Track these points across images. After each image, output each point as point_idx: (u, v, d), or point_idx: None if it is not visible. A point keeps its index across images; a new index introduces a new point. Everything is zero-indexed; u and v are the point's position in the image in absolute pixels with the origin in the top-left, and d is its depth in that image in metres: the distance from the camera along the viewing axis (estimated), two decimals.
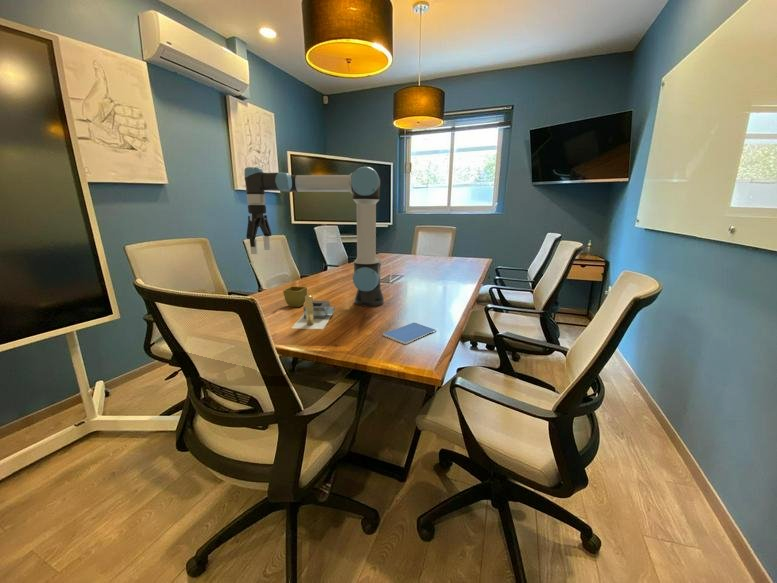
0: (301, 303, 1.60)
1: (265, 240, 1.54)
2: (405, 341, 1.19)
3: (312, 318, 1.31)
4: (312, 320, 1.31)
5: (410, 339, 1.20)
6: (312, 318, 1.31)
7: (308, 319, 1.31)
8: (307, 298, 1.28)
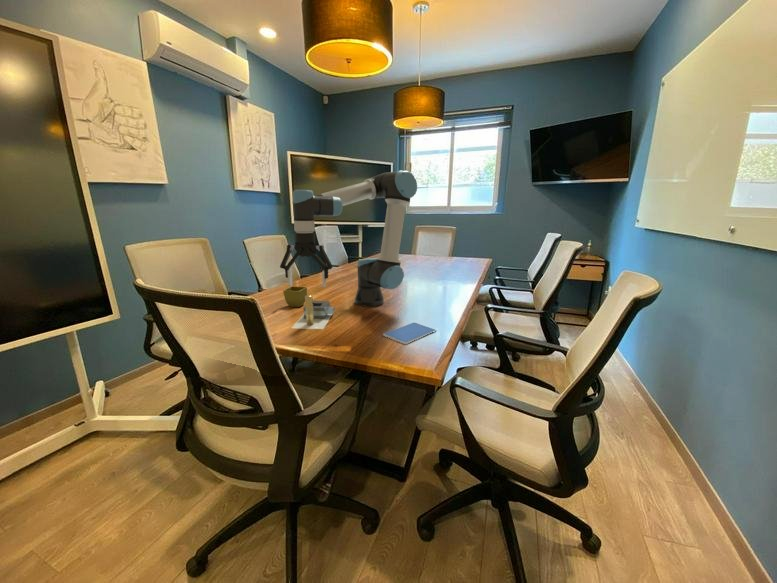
0: (301, 303, 1.60)
1: None
2: (405, 341, 1.19)
3: (312, 318, 1.31)
4: (312, 320, 1.31)
5: (410, 339, 1.20)
6: (312, 318, 1.31)
7: (308, 319, 1.31)
8: (307, 298, 1.28)
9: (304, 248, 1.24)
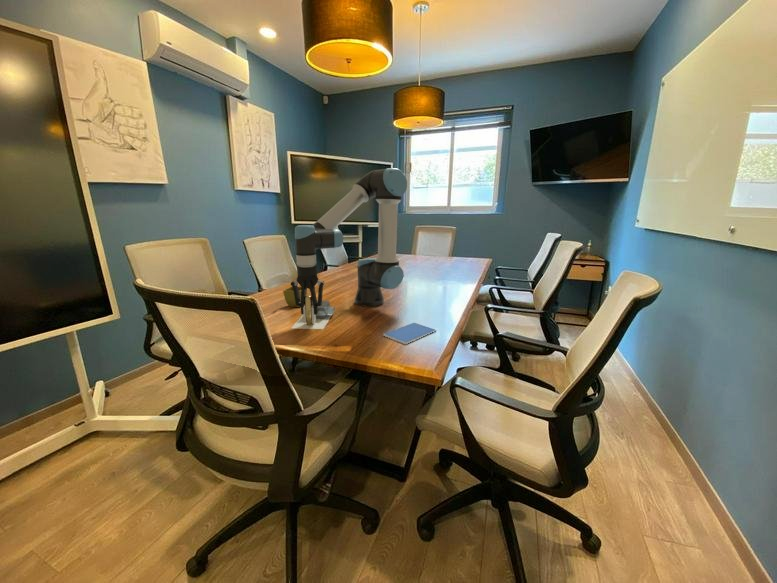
0: None
1: None
2: (405, 341, 1.18)
3: None
4: None
5: (410, 339, 1.20)
6: (311, 318, 1.31)
7: (308, 319, 1.31)
8: (307, 298, 1.28)
9: (306, 281, 1.27)
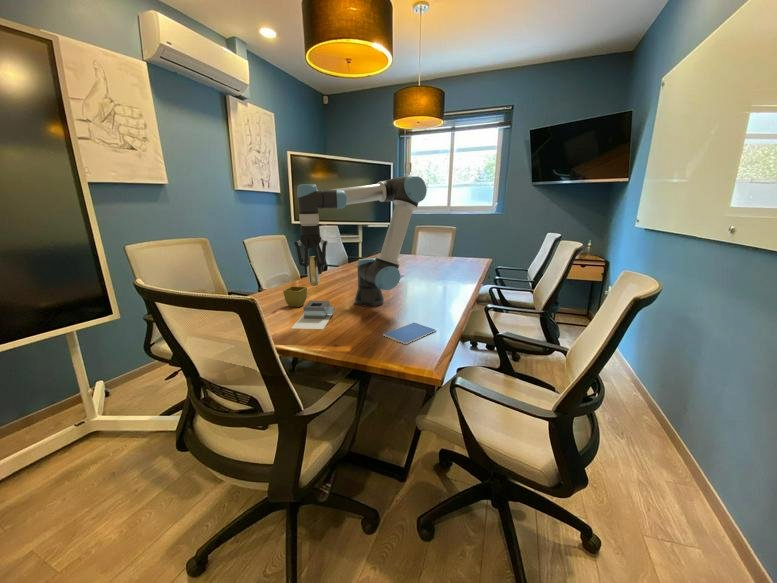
0: (301, 303, 1.60)
1: None
2: (406, 341, 1.18)
3: (316, 278, 1.34)
4: (316, 280, 1.34)
5: (410, 339, 1.20)
6: (316, 279, 1.34)
7: (312, 279, 1.34)
8: (311, 258, 1.31)
9: (310, 240, 1.30)
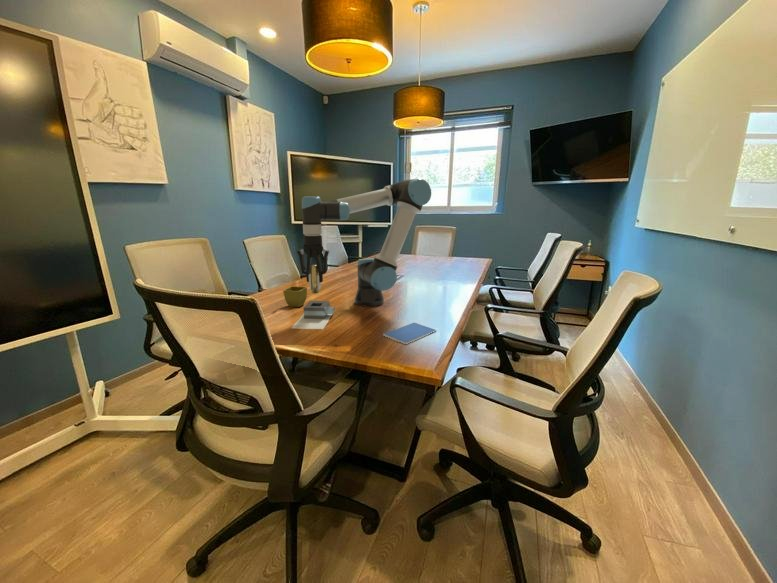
0: (301, 303, 1.60)
1: None
2: (405, 341, 1.18)
3: (317, 286, 1.39)
4: (317, 288, 1.39)
5: (410, 339, 1.20)
6: (317, 287, 1.39)
7: (313, 287, 1.38)
8: (312, 267, 1.36)
9: (312, 249, 1.35)
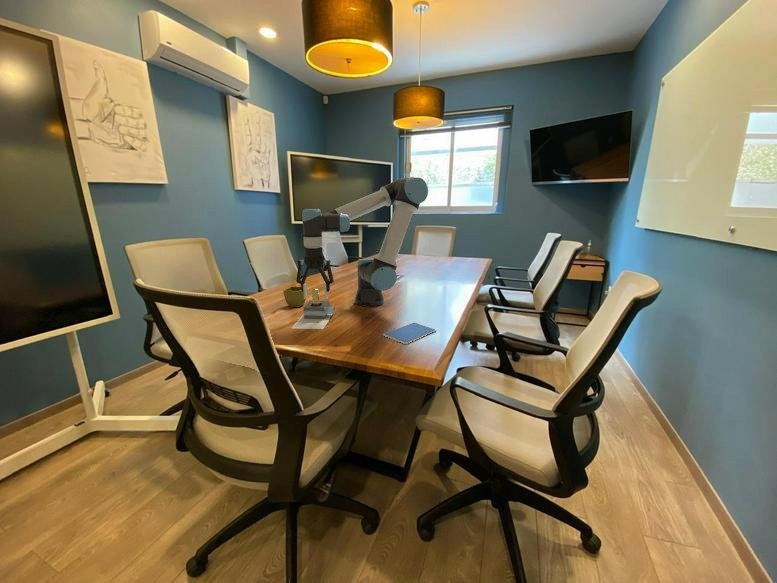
0: (301, 303, 1.60)
1: None
2: (405, 341, 1.18)
3: None
4: None
5: (410, 339, 1.20)
6: None
7: None
8: (313, 291, 1.39)
9: (313, 261, 1.36)
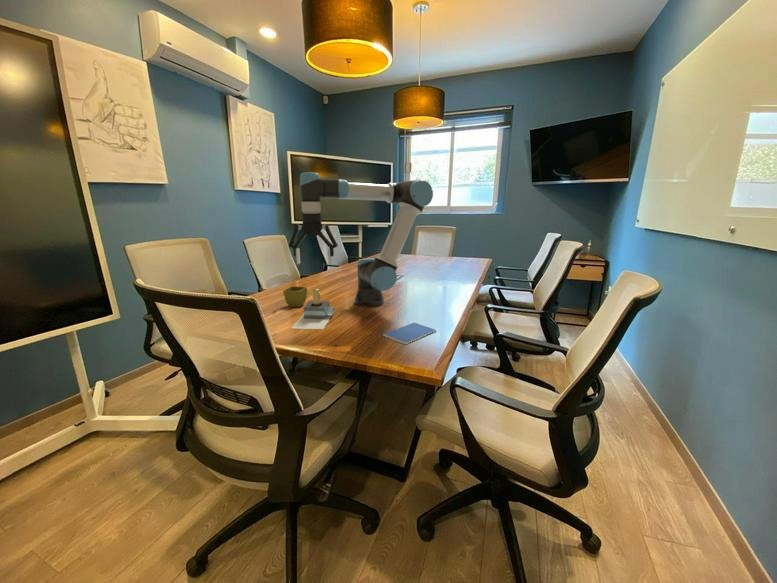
0: (301, 303, 1.60)
1: None
2: (405, 341, 1.18)
3: None
4: None
5: (410, 339, 1.20)
6: None
7: None
8: (314, 291, 1.39)
9: (311, 228, 1.32)
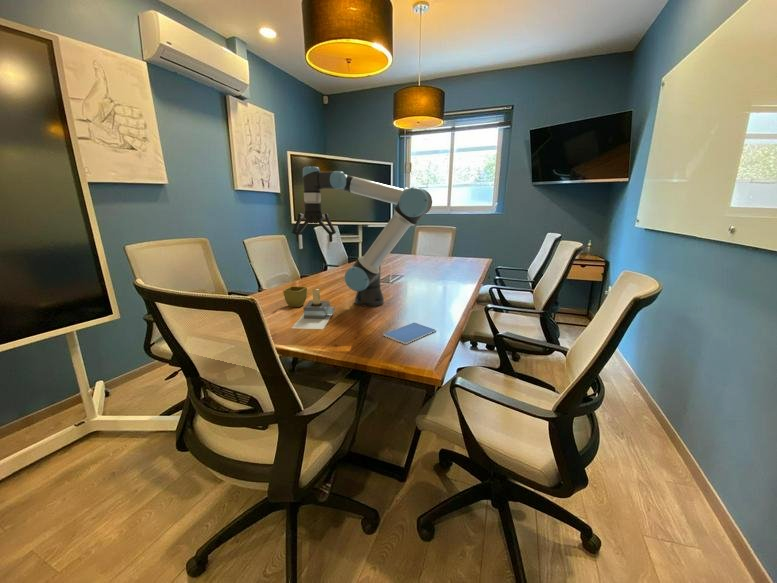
0: (301, 303, 1.60)
1: None
2: (405, 341, 1.18)
3: None
4: None
5: (410, 339, 1.20)
6: None
7: None
8: (314, 291, 1.39)
9: (312, 216, 1.49)
